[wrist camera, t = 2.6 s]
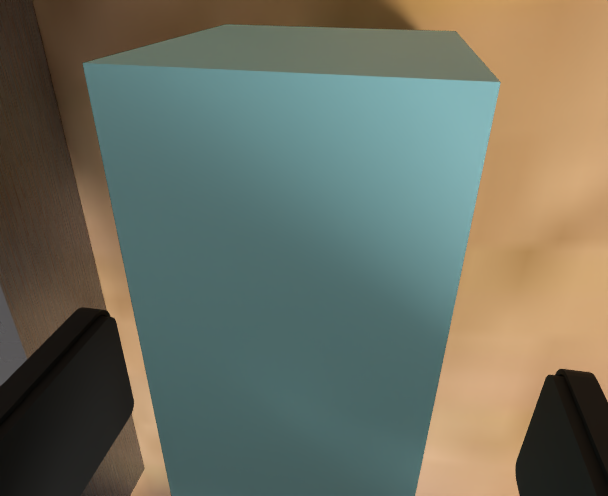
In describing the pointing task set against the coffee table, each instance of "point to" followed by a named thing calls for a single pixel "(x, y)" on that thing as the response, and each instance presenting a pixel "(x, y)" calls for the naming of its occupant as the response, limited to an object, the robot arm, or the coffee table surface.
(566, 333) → the coffee table surface
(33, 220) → the rail
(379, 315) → the clip
